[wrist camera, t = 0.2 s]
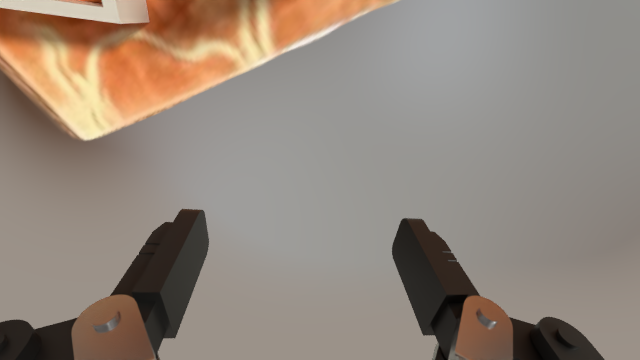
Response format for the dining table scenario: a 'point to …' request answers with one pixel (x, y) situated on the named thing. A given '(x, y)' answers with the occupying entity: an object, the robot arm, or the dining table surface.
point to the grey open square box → (86, 9)
